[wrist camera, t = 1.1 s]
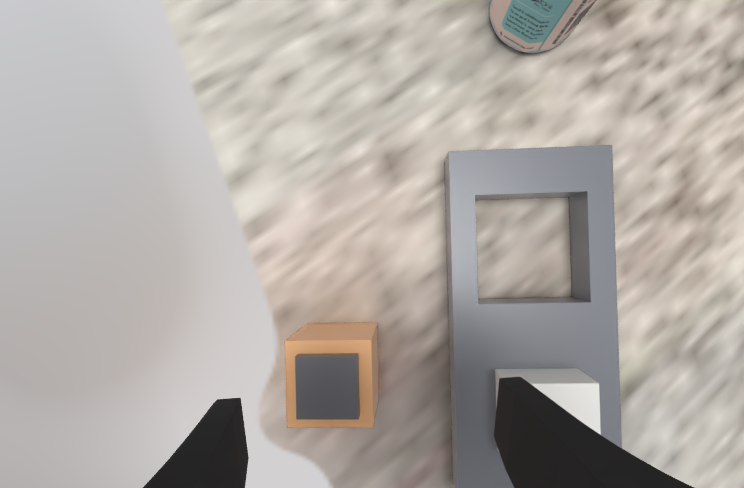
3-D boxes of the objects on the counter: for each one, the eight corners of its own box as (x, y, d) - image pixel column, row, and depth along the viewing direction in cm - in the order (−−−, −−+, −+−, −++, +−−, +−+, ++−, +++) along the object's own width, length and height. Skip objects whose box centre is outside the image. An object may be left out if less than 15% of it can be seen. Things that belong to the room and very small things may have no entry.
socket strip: (602, 531, 25) (653, 602, 20) (454, 528, 25) (467, 597, 20) (591, 155, 25) (638, 132, 20) (444, 161, 25) (454, 139, 20)
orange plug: (379, 393, 26) (372, 433, 20) (309, 393, 26) (283, 432, 20) (377, 322, 26) (370, 342, 20) (307, 323, 26) (281, 343, 20)
